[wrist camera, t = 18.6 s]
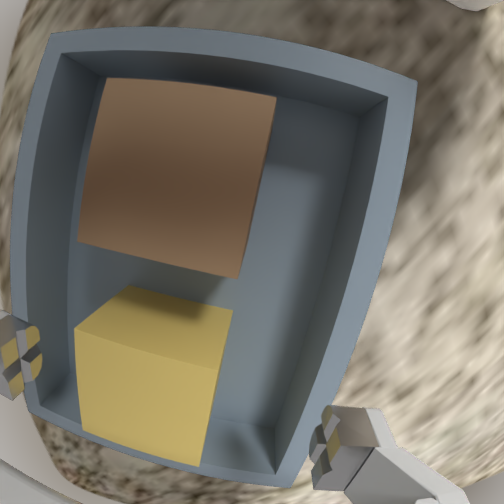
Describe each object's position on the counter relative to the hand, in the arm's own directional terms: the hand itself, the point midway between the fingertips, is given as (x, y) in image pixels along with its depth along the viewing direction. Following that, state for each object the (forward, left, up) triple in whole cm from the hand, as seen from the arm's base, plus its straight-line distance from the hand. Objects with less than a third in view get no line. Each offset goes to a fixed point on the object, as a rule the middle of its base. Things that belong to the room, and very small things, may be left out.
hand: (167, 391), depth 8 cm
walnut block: (-5, -1, -7) cm, 9 cm away
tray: (-1, -1, -8) cm, 8 cm away
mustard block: (+3, -1, -7) cm, 7 cm away
